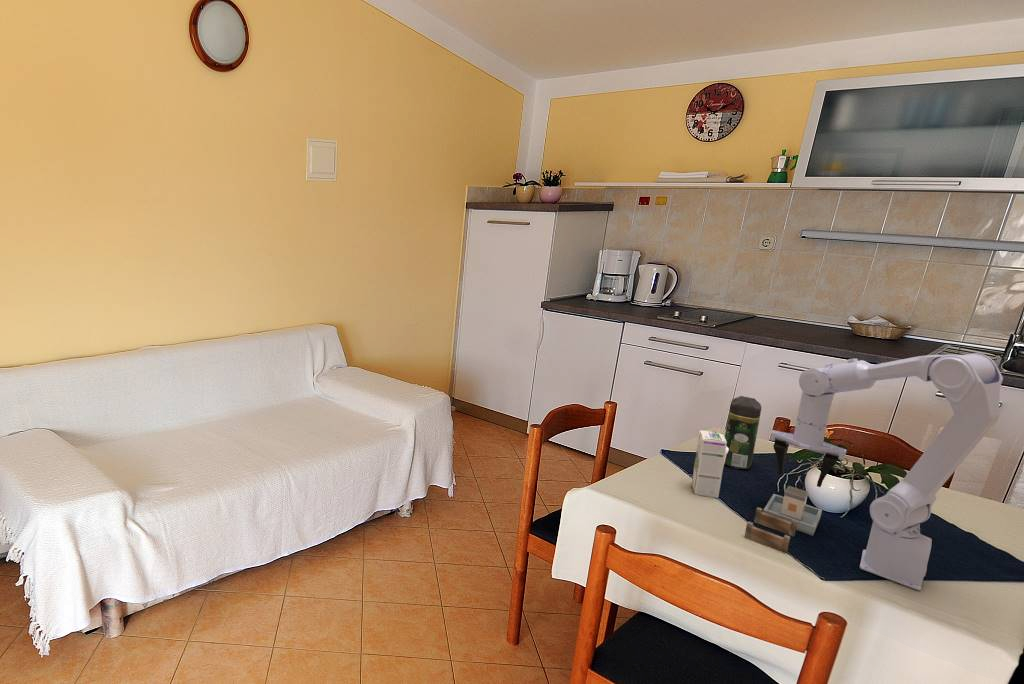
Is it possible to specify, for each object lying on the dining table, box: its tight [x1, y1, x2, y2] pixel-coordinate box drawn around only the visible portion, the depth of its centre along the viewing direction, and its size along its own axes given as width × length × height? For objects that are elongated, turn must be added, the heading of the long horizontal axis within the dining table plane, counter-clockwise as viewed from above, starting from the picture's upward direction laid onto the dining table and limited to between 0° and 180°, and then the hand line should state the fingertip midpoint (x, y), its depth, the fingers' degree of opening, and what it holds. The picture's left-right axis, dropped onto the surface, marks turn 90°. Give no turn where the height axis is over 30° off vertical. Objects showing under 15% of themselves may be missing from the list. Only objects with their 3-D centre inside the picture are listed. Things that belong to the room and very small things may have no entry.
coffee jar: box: [724, 395, 762, 470], centre depth 145 cm, size 10×8×19 cm
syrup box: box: [691, 430, 727, 499], centre depth 128 cm, size 6×6×14 cm
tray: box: [762, 493, 823, 537], centre depth 119 cm, size 10×10×2 cm
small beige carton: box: [780, 485, 809, 521], centre depth 119 cm, size 4×4×6 cm
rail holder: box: [743, 506, 798, 554], centre depth 111 cm, size 8×9×3 cm
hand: (799, 479), depth 118 cm, fingers open, 7 cm apart
